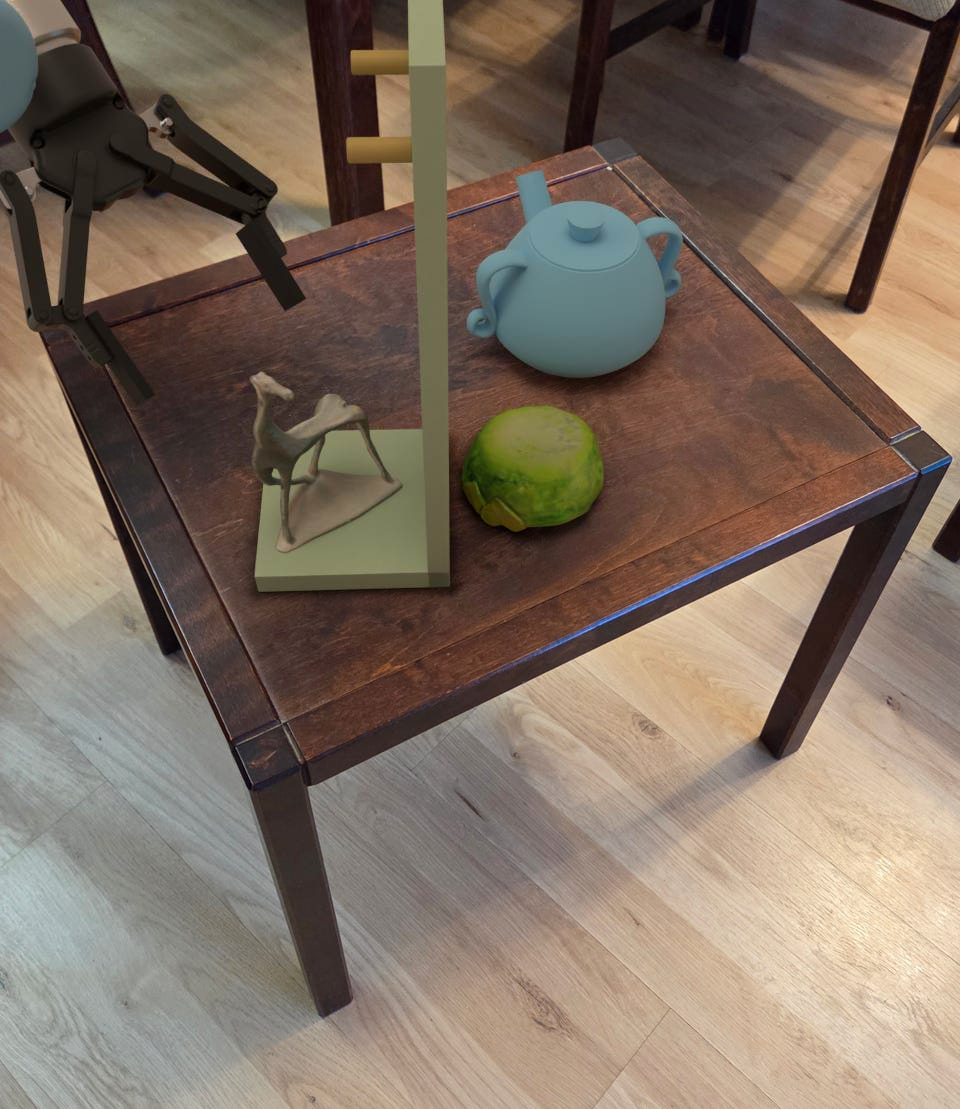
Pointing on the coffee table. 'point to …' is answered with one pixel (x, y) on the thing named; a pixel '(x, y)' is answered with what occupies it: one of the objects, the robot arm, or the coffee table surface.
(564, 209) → the teapot
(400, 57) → the rack
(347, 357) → the coffee table surface
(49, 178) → the robot arm
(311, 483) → the figurine
